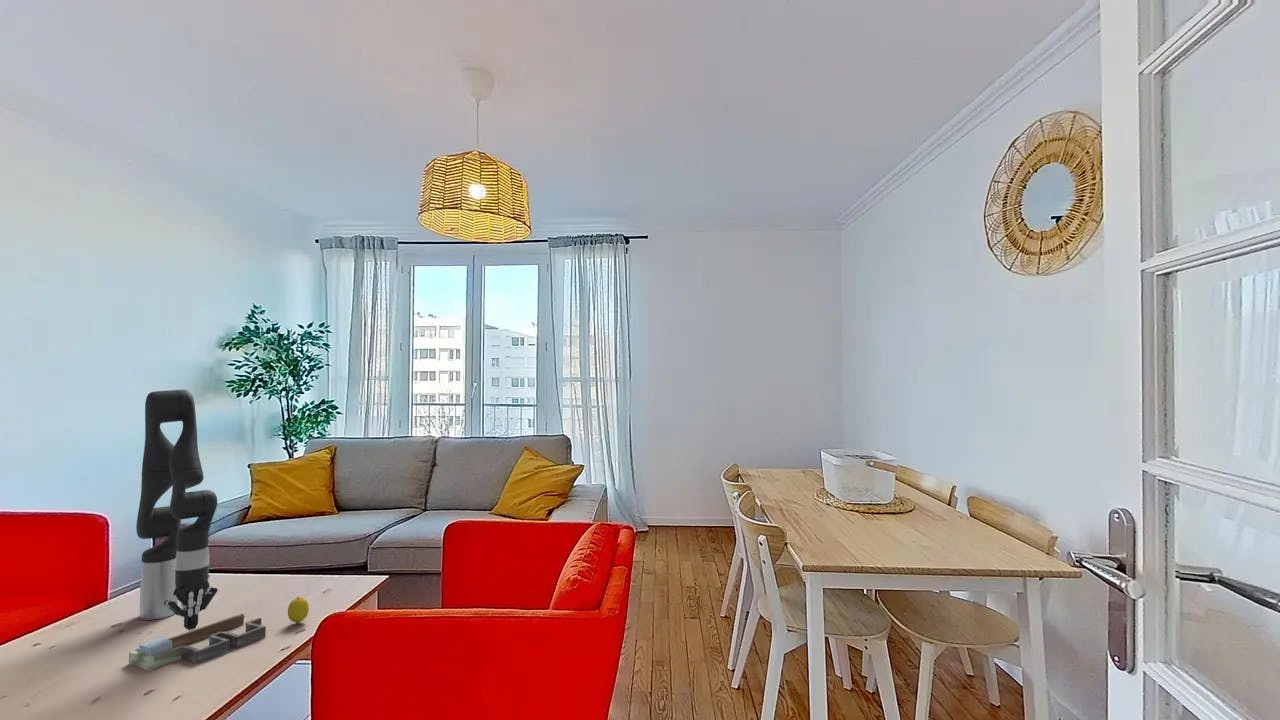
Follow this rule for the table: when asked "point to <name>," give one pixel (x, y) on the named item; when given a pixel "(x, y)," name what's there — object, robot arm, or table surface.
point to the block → (155, 646)
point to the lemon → (298, 610)
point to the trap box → (217, 639)
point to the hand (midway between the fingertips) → (190, 628)
